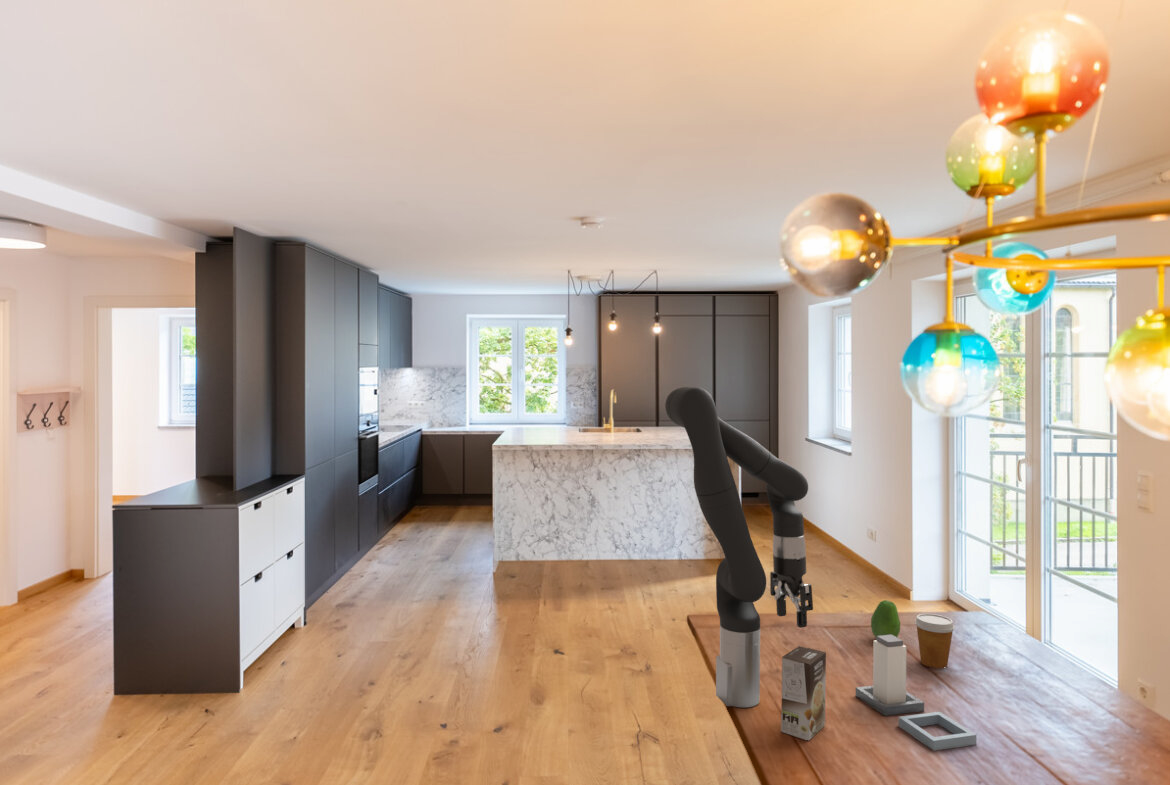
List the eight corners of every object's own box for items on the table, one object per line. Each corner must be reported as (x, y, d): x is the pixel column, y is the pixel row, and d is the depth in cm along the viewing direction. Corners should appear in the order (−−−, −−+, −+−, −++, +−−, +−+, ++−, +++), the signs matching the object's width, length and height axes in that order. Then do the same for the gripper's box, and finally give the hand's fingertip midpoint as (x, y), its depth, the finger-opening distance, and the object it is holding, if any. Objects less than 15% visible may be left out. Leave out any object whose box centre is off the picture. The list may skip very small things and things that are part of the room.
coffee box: (809, 742, 144) (810, 664, 144) (780, 732, 148) (780, 657, 148) (825, 725, 151) (826, 651, 151) (797, 716, 155) (798, 644, 155)
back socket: (884, 716, 155) (884, 707, 155) (855, 695, 165) (855, 687, 165) (924, 711, 158) (924, 702, 158) (893, 691, 168) (893, 683, 168)
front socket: (933, 750, 141) (933, 740, 141) (898, 726, 151) (898, 716, 151) (976, 744, 143) (976, 734, 143) (939, 720, 153) (939, 711, 153)
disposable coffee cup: (962, 668, 182) (963, 622, 182) (935, 673, 178) (936, 627, 178) (932, 654, 191) (932, 611, 191) (906, 659, 187) (906, 615, 187)
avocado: (905, 646, 197) (906, 603, 197) (880, 647, 196) (880, 605, 196) (889, 635, 205) (890, 595, 205) (864, 637, 204) (865, 596, 204)
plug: (886, 709, 158) (887, 643, 158) (872, 699, 163) (873, 635, 163) (905, 707, 160) (906, 641, 159) (891, 697, 165) (891, 633, 164)
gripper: (759, 548, 172) (761, 614, 172) (792, 561, 158) (794, 633, 158) (786, 545, 174) (788, 610, 174) (821, 558, 160) (823, 628, 160)
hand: (791, 621), depth 166 cm, fingers open, 8 cm apart
